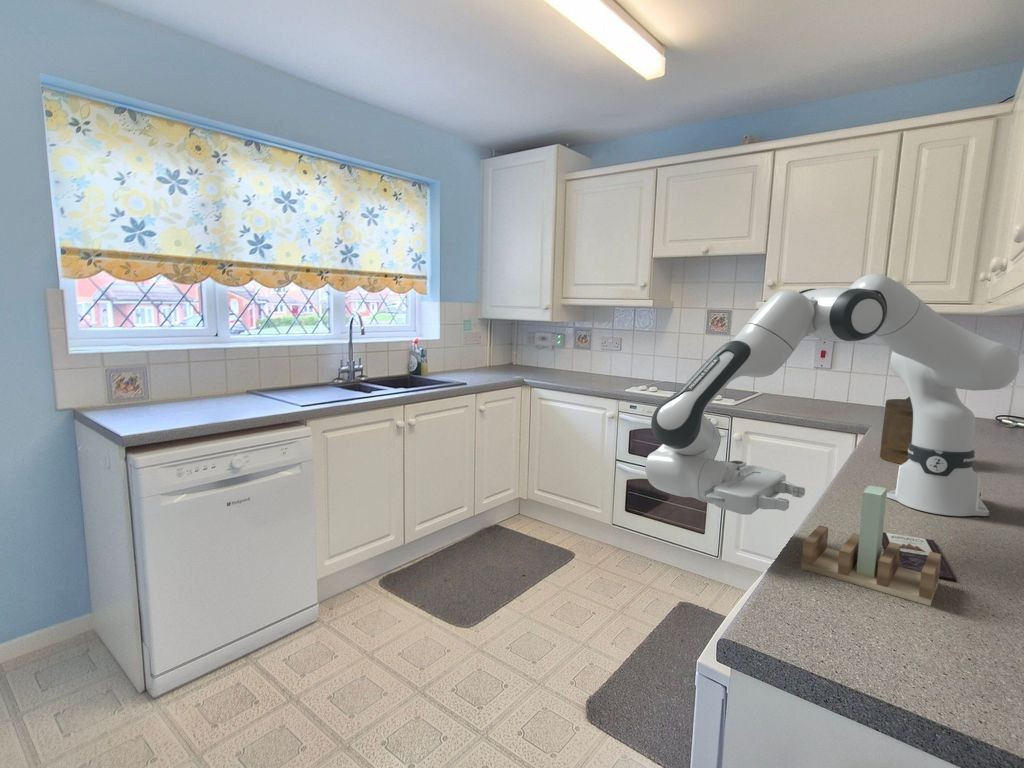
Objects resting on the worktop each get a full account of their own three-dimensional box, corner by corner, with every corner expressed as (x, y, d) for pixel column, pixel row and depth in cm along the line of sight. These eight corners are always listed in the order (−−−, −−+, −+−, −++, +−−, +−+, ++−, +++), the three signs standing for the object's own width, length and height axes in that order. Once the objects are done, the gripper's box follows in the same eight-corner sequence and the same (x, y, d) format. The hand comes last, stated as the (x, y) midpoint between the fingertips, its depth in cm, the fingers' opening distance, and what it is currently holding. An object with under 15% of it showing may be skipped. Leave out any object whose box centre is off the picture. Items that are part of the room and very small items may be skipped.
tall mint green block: (862, 562, 95) (869, 485, 93) (879, 567, 93) (886, 488, 91) (856, 572, 91) (863, 492, 89) (874, 577, 89) (881, 495, 88)
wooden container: (951, 468, 158) (958, 393, 155) (895, 465, 160) (902, 392, 158) (921, 455, 173) (927, 387, 170) (870, 453, 175) (876, 386, 172)
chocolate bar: (890, 567, 94) (878, 531, 110) (890, 572, 94) (877, 536, 110) (956, 579, 90) (933, 540, 106) (955, 584, 90) (933, 544, 106)
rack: (817, 550, 102) (819, 525, 101) (938, 582, 89) (941, 554, 89) (801, 568, 95) (803, 541, 94) (930, 606, 82) (933, 574, 82)
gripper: (699, 479, 101) (778, 496, 91) (741, 458, 116) (813, 470, 106) (698, 512, 102) (776, 531, 92) (740, 487, 116) (811, 501, 107)
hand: (796, 499), depth 99 cm, fingers open, 8 cm apart
